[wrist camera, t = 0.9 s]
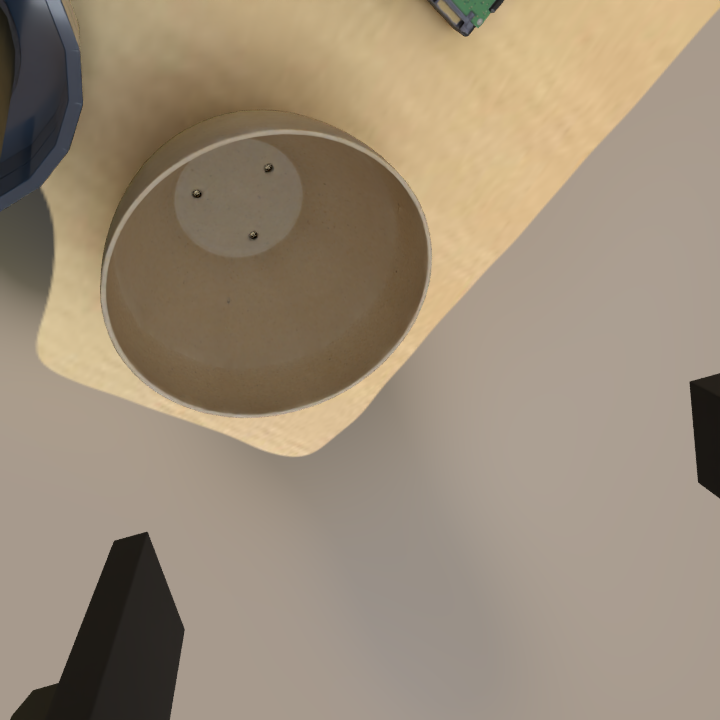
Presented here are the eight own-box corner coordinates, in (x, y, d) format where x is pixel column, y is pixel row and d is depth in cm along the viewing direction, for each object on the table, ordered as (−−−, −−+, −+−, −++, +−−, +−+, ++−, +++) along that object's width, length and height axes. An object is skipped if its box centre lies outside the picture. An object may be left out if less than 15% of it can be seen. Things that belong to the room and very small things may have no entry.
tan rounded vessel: (414, 175, 49) (490, 263, 40) (249, 343, 54) (285, 454, 45) (221, -19, 37) (268, 45, 29) (33, 217, 42) (24, 333, 33)
